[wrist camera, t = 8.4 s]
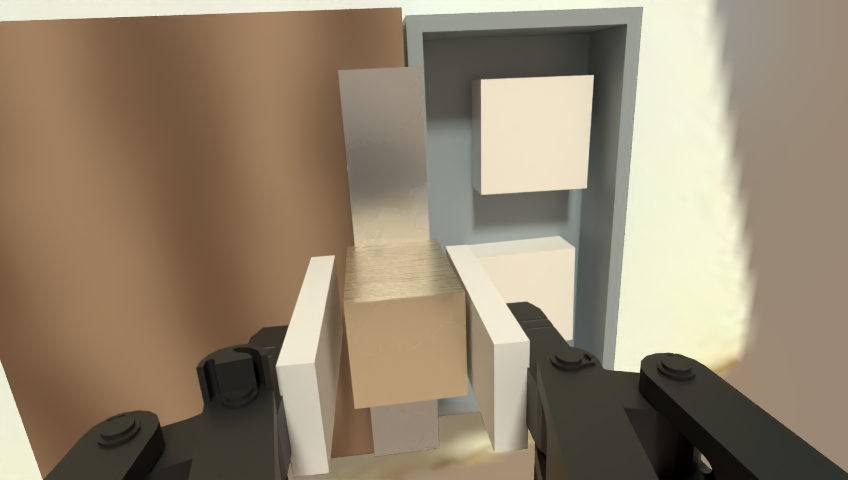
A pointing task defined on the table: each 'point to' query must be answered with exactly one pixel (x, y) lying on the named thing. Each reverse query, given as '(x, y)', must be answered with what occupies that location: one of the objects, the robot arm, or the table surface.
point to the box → (540, 210)
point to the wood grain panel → (168, 203)
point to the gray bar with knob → (397, 266)
